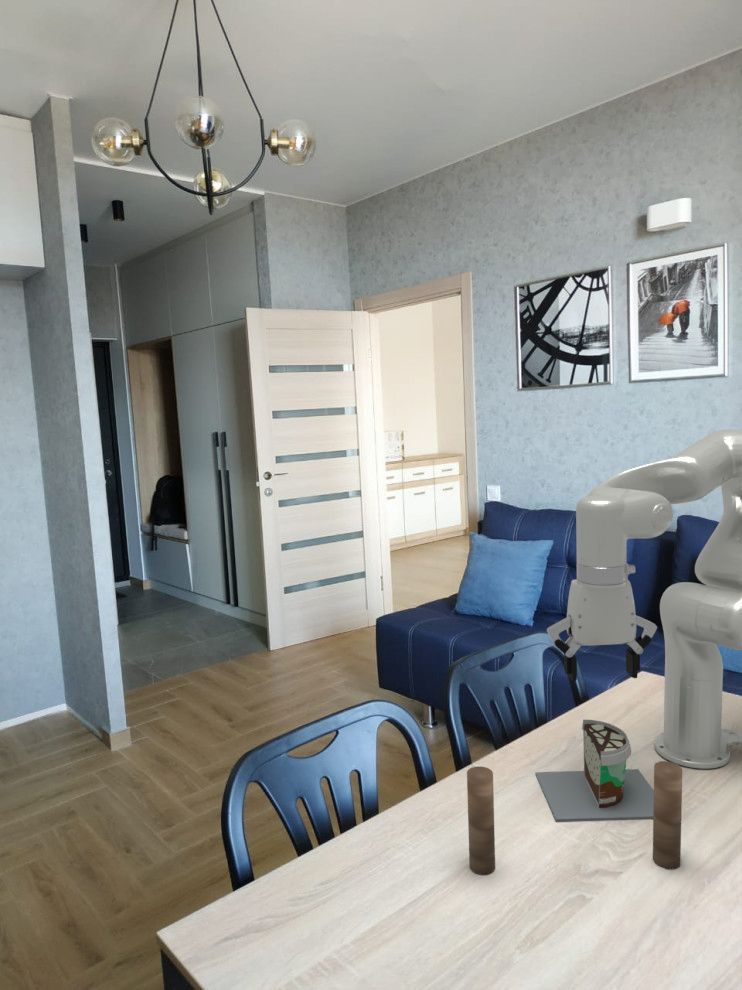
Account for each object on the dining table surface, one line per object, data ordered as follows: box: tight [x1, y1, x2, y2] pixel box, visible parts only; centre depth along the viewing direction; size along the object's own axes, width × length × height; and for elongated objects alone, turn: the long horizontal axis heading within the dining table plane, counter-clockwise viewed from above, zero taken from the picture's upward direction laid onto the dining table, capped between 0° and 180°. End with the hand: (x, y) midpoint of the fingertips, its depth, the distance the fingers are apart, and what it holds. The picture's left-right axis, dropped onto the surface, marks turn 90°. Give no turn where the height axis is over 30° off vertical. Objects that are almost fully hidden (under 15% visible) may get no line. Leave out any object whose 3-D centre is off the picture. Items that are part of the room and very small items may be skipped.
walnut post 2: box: [652, 760, 683, 870], centre depth 98 cm, size 4×4×14 cm
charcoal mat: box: [535, 768, 654, 823], centre depth 115 cm, size 18×14×1 cm
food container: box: [581, 719, 632, 808], centre depth 115 cm, size 12×6×10 cm, turn 177°
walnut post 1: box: [466, 765, 496, 876], centre depth 98 cm, size 4×4×14 cm
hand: (601, 676), depth 113 cm, fingers open, 9 cm apart
